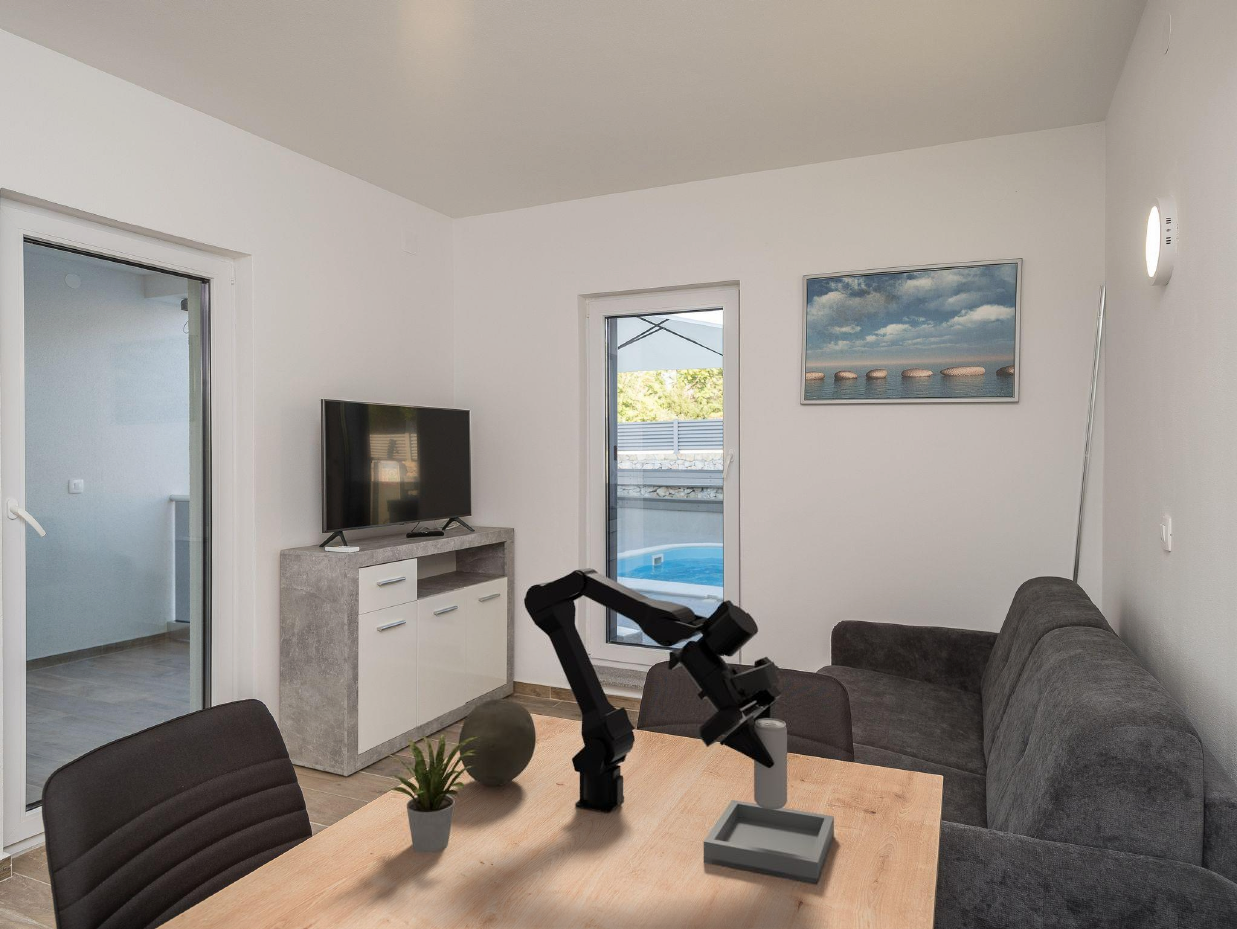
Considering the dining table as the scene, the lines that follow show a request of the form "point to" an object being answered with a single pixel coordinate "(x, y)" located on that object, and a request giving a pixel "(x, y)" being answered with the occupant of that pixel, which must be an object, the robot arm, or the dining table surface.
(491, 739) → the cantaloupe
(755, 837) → the tray
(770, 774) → the beverage can
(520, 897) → the dining table surface
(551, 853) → the dining table surface
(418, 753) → the house plant
